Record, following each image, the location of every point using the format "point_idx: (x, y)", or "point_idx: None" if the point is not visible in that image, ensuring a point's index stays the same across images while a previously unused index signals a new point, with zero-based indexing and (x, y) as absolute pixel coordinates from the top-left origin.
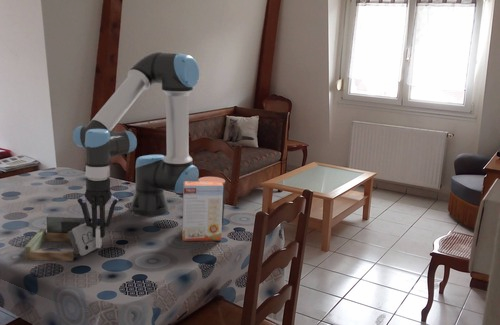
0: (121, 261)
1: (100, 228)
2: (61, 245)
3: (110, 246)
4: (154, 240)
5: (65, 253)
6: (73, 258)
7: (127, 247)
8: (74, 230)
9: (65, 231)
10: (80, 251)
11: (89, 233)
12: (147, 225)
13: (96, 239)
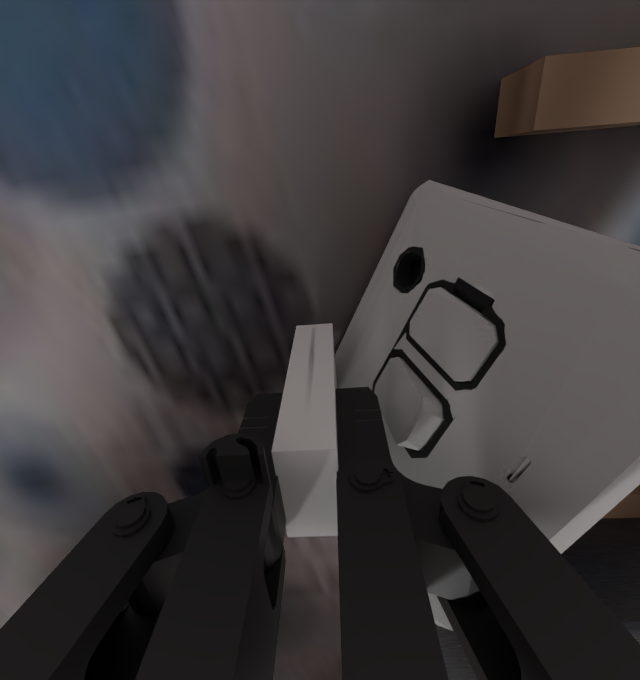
0: (48, 142)
1: (247, 449)
2: None
3: None
4: (39, 516)
5: (632, 47)
6: (499, 124)
7: (142, 413)
8: None
9: (630, 530)
10: (454, 189)
11: (420, 416)
12: None
13: (326, 363)
